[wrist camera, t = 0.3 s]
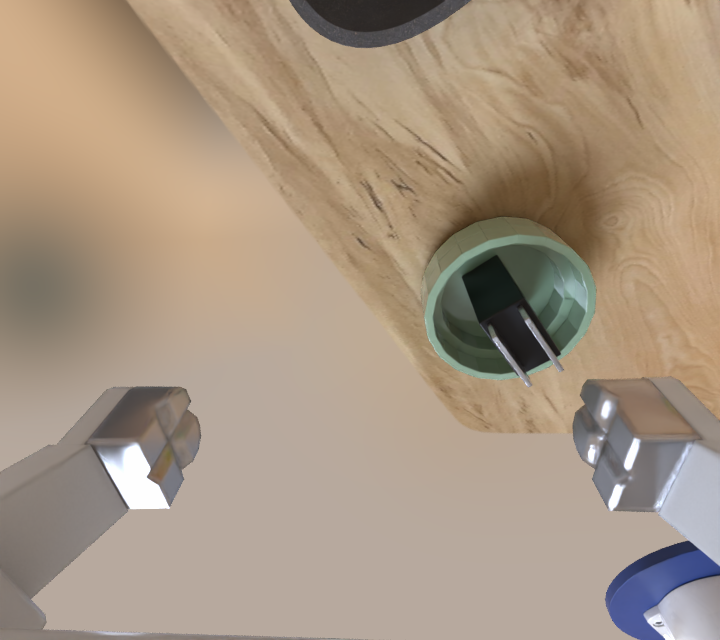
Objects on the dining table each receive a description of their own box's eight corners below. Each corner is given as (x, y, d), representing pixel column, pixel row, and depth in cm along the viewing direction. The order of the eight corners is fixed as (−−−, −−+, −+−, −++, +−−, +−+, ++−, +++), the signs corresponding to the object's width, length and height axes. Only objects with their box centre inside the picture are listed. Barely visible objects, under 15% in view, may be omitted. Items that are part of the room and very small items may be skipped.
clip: (528, 302, 31) (572, 370, 24) (493, 322, 32) (525, 393, 25) (496, 253, 29) (532, 311, 22) (460, 276, 31) (483, 338, 23)
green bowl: (588, 310, 32) (616, 341, 28) (457, 365, 35) (465, 400, 32) (540, 184, 27) (565, 200, 24) (395, 261, 31) (396, 287, 27)
